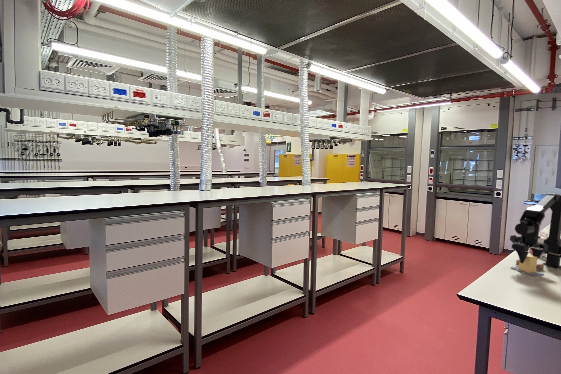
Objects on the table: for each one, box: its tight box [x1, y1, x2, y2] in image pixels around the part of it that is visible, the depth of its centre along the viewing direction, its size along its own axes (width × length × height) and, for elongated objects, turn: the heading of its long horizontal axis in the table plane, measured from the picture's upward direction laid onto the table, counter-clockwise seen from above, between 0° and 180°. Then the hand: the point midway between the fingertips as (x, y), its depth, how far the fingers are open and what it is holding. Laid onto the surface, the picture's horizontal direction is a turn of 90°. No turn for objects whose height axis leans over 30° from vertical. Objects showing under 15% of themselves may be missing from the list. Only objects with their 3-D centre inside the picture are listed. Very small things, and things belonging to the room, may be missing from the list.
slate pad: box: [510, 266, 545, 277], centre depth 156 cm, size 8×11×1 cm
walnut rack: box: [515, 259, 545, 271], centre depth 163 cm, size 8×9×3 cm
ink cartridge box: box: [528, 230, 549, 258], centre depth 187 cm, size 9×5×15 cm, turn 168°
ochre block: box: [518, 253, 538, 273], centre depth 155 cm, size 5×5×8 cm
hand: (527, 262), depth 155 cm, fingers open, 9 cm apart
